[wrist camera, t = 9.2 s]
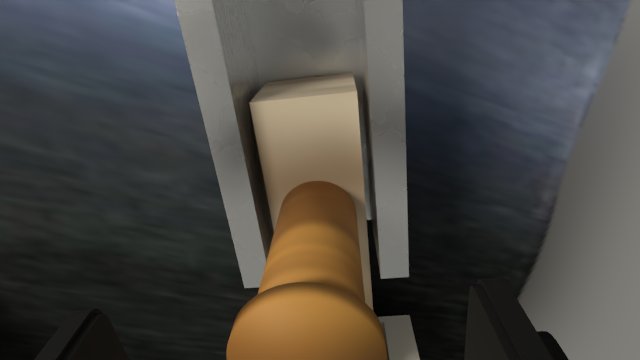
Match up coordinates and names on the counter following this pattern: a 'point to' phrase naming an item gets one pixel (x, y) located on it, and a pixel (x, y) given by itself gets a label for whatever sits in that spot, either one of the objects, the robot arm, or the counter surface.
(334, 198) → the slip bar
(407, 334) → the socket block
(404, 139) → the channel sleeve
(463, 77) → the counter surface
